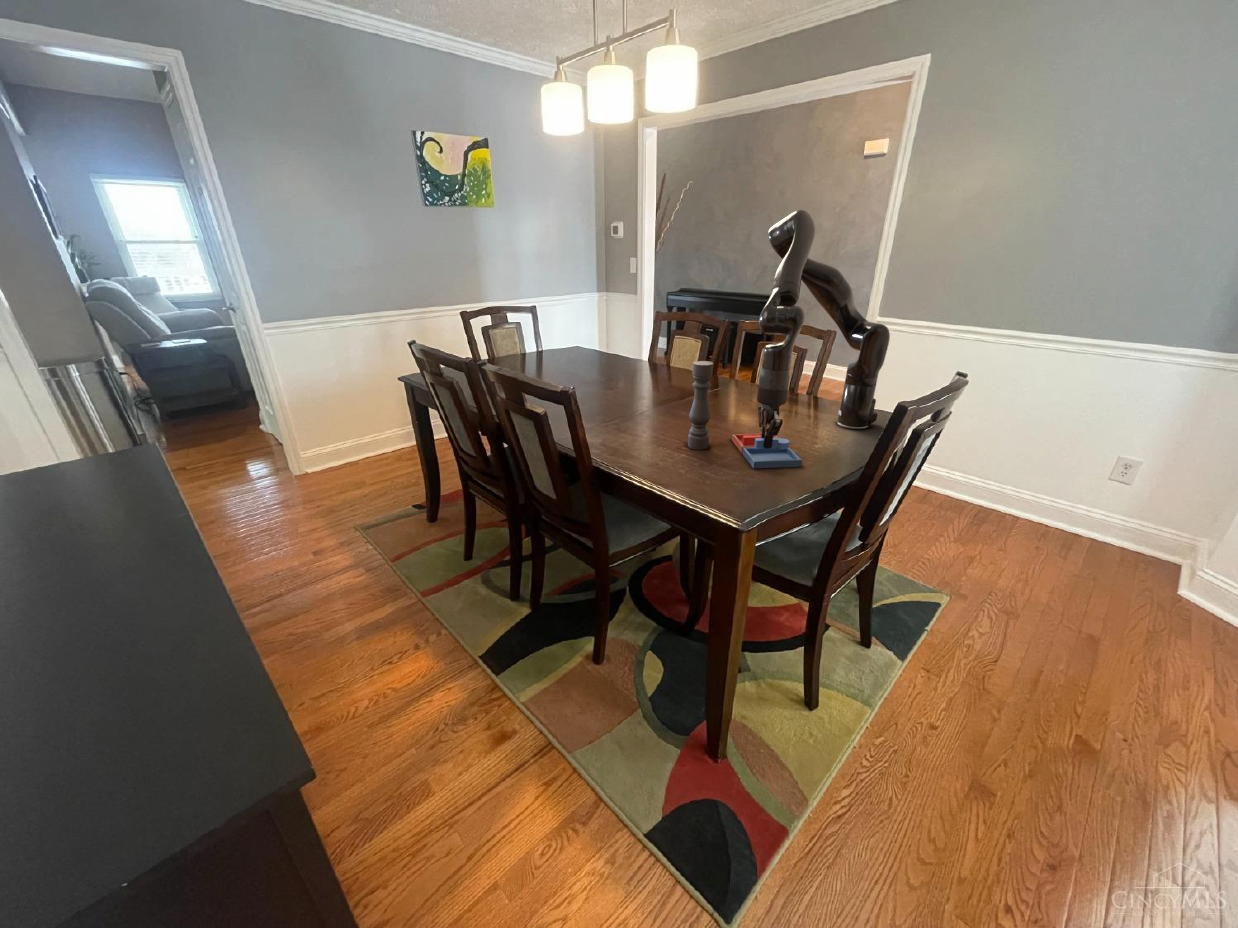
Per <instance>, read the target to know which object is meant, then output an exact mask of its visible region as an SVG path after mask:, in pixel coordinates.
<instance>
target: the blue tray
mask: <svg viewBox="0 0 1238 928" xmlns="http://www.w3.org/2000/svg"><path fill="white" fill-rule="evenodd" d="M741 454H742V455H743V457H744V459H745V460H746V461H747V462H748V463H749V465H750V466H751V467H752V469H771V468H772V469H775V468H777V469H778V468H801V467H802V464H803V459H802V458H801V457H800V456H799V455H798V454H797V453H796V452H795V451H794V450H793V449H791V447H789V448H788V449H778V448H773V449H756V448H755V447H749V448H743V453H741Z"/></svg>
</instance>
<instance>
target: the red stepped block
mask: <svg viewBox="0 0 1238 928" xmlns="http://www.w3.org/2000/svg"><path fill="white" fill-rule="evenodd" d="M755 438H761V435H747V436H743V438H742V444H743V446H749V445H755Z"/></svg>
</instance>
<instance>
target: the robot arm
mask: <svg viewBox="0 0 1238 928" xmlns="http://www.w3.org/2000/svg"><path fill="white" fill-rule="evenodd" d="M815 237H816V224H815V220H814V218H813V217H812V215H811V214H810V212H808V211H807V210H805V209H803V208H802V209H797V210H795V211H793V212H791V213H790V214H788V215H787V216H786V217H784V218H783V219H781V220H780V221H778V222H776V223H775V224H773V226H771V227H770V228H769V230H768V232H767V238H768V241H769V245H770V246H771V247H772V250H774V252H775V253H776V254H777V255H778V257H779V258H781V260H782V261H781V262H780V263H779V265H778V267H777V269H776V271H775V273H774V276H773V279H772V284H771V290H770V295H769V298H768V299H767V302H766V304H765V305H764V306H763V308H762V311H761V313H760V315H759V318H758V326H759V329H760V331H761V332H762V333H763V334H765V335H775V336H777V335H778V336H779V335H780V336H786V337H785V338H784V339H783V340H782V341H779V342H773V343H769V344H766V345H765V346H764V348H763V351H762V359H761V367H760V372H759V378H758V386H757V397H756V402H757V403H759V404H761V405H758V406H757V419H758V427H759V428H760V432H761V433H760V434H761V438H764V444H763V447H764V448H772V442H773V436H778V434H779V432H780V430H781V428H782V426H783V424H784V420H783V419H782V418H780V416H781V411H780V407H781V406H784V405H785V404H786V403H787V399H788V391H789V386H790V377H791V376H790V375H791V374H790V373H791V371H790V369H791V364H792V363H791V362H792V356H793V351H794V348H795V347H794V346H795V344H796V340H797V338H798V336H799V335H800V332H801V329H802V328H803V325H804V322H805V312H804V309H803V308H802V307H801V306H799V305H797V303H798V302H799V298H800V292H801V285H802V282H803V284H804V285H805V287H806V288H807V289H808V290H809V292H810V293H811V295H812V296H813V297H814V299H815V300H816V301H817V303H818V304H819V305H820V306H821V307H822V308H823V310H824V311H825V312H826V313H827V315H828V317H830V318H831V319H832V321H833V322H834V323H835V324H836V326H837V327H838V329H839V330H840V333H841V335H842V336H843V338H844V339H845V341H846V343H847V345H848V346H849V347H850V348H851V349H853V350H854V351H857V352H859V353H858V357H857V360H856V361H853V362H851V363H849V364H848V365H847V367H846V373H845V379H844V385H843V390H842V395H841V401H840V406H839V409H838V412H837V413H838V417H837V422H836V424H837V425H838V426H840V427H842V428H845V429H848V430H866V429H870V428H871V426H872V424H873V423H875V422H876V421H877V419H878V415H879V413H878V412H875V407H876V402H877V400H876V398H875V393H876V387H877V384H878V383H877V382H878V378H879V373H880V372H881V369H882V368H883V366H884V363H885V359H886V356H887V352H888V348H889V345H890V339H891V334H890V329H889V328H888V326H886V325H885V324H882V323H879V322H873V321H869V320H868V319H866V318H865V317H864V316H863V315H862V314H861V312H859V310H858V309H857V307H856V305H855V302H854V293H853V289H852V286H851V285H850V283H849V282H848V280H847V279H846V278H845V276H844V275H843V273H842V272H841V270H839V269H838V268H836V267H835V266H832V265H830V264H828V263H824V262H821V261H818V260H815V259H813V258H810V257H809V255H810V251H811V249H812V246H813V244H814V240H815Z"/></svg>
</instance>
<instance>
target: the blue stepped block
mask: <svg viewBox="0 0 1238 928" xmlns="http://www.w3.org/2000/svg"><path fill="white" fill-rule="evenodd" d="M779 438H780V437H779ZM790 443H791V441H790V440H789V439H787V438H780V439H777V438H776V437H773V442H772V448H764V447H763V444H764V438H755V445H754V447H755V448H756V449H773V448H778V449H788V448H790Z"/></svg>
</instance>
